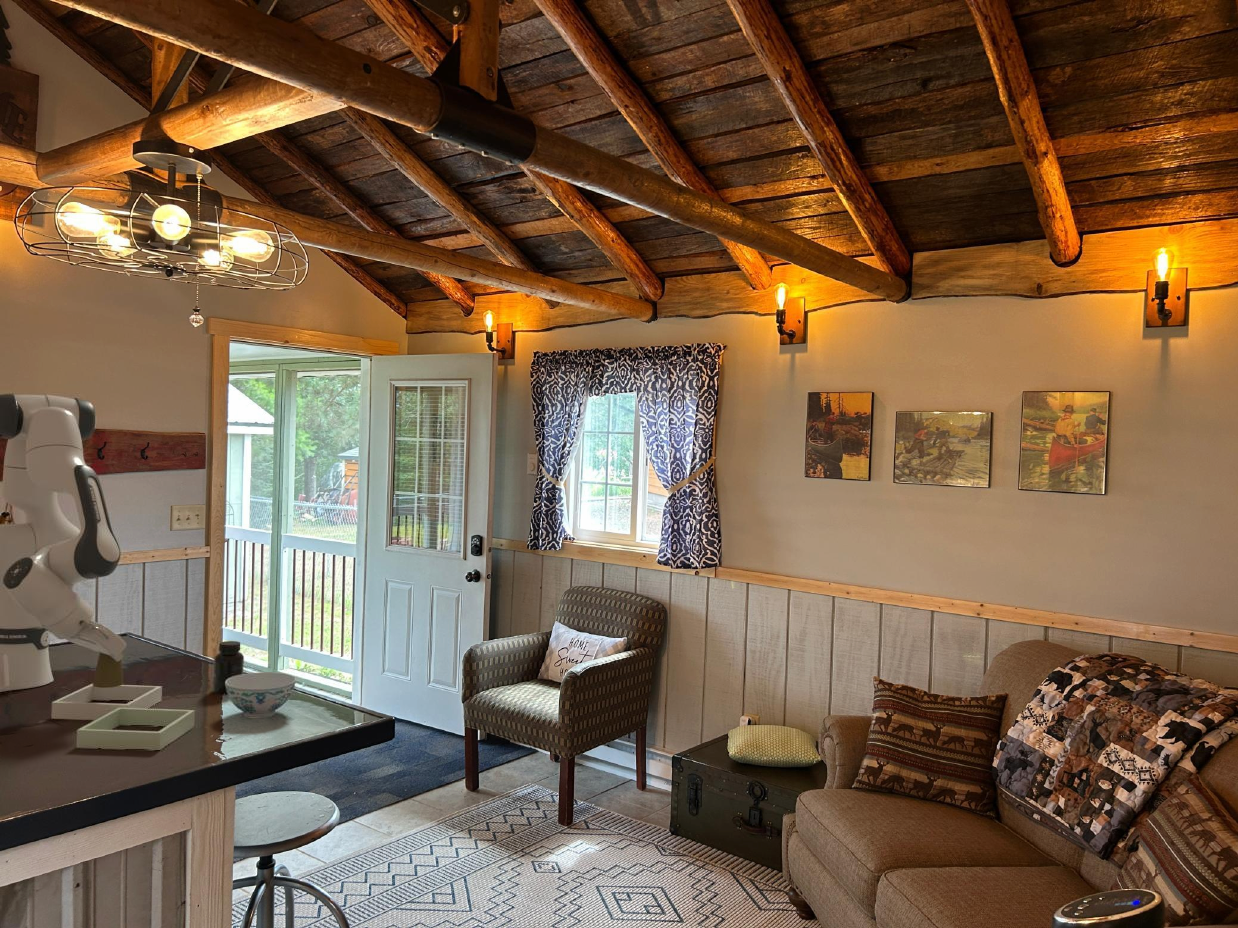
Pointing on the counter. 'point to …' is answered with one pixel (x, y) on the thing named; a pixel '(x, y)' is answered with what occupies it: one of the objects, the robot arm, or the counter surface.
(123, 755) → the counter surface
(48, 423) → the robot arm
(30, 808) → the counter surface
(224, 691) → the supplement bottle
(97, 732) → the sage bin
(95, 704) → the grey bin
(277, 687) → the chinaware
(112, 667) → the cork
